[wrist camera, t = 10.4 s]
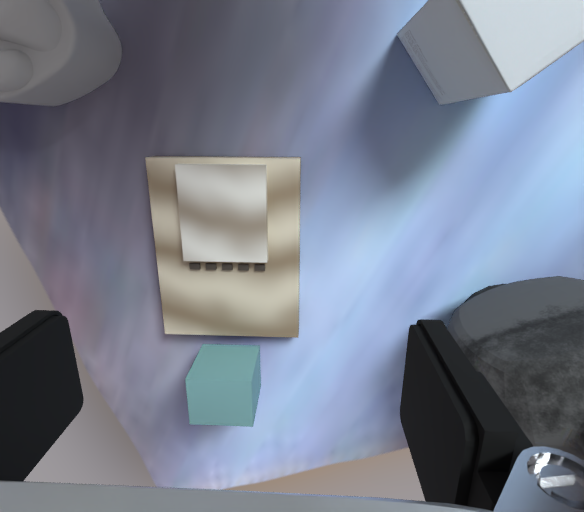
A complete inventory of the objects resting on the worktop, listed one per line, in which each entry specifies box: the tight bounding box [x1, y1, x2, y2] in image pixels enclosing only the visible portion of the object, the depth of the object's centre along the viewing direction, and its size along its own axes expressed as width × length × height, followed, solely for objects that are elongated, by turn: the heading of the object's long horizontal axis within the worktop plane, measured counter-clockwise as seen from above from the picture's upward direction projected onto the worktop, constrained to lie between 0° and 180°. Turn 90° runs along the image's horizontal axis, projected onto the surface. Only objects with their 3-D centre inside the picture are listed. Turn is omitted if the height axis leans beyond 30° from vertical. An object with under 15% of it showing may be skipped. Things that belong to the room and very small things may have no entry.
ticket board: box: [145, 156, 301, 337], centre depth 38 cm, size 18×14×3 cm
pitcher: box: [447, 276, 584, 460], centre depth 26 cm, size 11×19×30 cm, turn 111°
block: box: [185, 344, 261, 427], centre depth 38 cm, size 5×6×6 cm
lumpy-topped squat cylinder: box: [0, 0, 122, 106], centre depth 30 cm, size 10×13×9 cm
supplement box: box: [397, 0, 584, 105], centre depth 27 cm, size 7×7×13 cm
